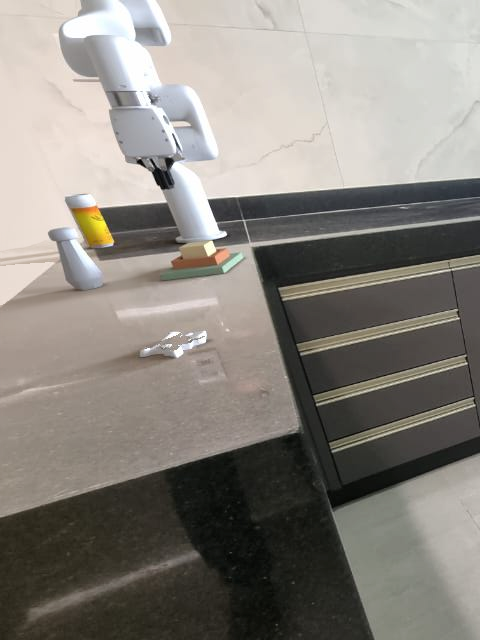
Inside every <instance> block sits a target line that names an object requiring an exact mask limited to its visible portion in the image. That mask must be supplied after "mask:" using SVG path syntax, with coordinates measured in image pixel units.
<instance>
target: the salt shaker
mask: <svg viewBox="0 0 480 640" xmlns="http://www.w3.org/2000/svg"><path fill="white" fill-rule="evenodd" d="M47 235H48V238H49V239H50V241H52V242H56V247H57V250H58V254H59V258H60V262H61V266H62V270H63V273H64V277H65V280H66V282H67V283H68V284H69V285H71V286H72V287H73V288H74V289H75V290H76V291H87V290H93V289H97V288H100V287H102V286H103V279H104V278H103V277H104V275H103V273H102V271H101V270H100V268H99V267H98V266H97V265H96V263H95V262H94V260H92V258H91V257H90V256H89V254H87V252H86V250H84V248H83V247H82V245H81V244H80V243H79V241H78V240H77V239H78V238H79V233H78V231H76V229H75V228H73V227H67V226H66V227H58V228H53V229H50V230H49V231H48V232H47Z"/></svg>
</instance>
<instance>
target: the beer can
mask: <svg viewBox="0 0 480 640" xmlns="http://www.w3.org/2000/svg"><path fill="white" fill-rule="evenodd" d="M64 202H65V204H66V206H67V208H68V210H69V212H70V214H71V216H72V218H73V221H74V223H75V224H76V226H77V228H78V231H79V232H80V234H81V236H82V239H83V241H84V243H85V245H86V246H87V247H89V248H90V249H102V248H108V247H112V246H114V244H115V240H114V238H113V236H112V234H111V231H110V230H109V228H108V225H107V223H106V221H105V218H104V217H103V215H102V213H101V211H100V208H99V206H98V204H97V202H96V200H95V198H94V197H93V196H92V194H91V193H77V194H69V195H64Z"/></svg>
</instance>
